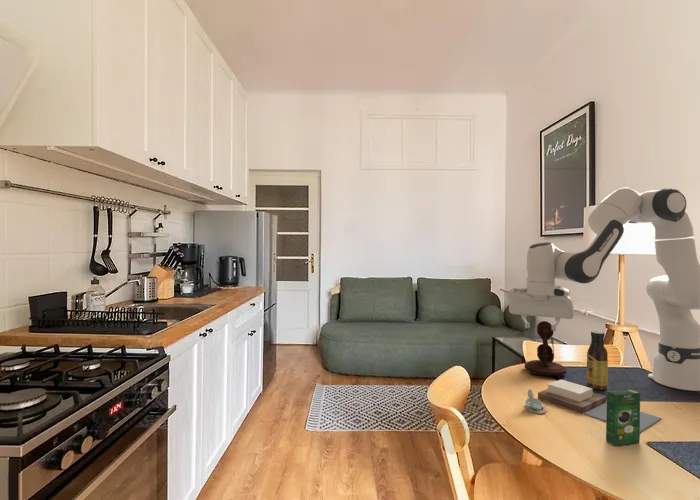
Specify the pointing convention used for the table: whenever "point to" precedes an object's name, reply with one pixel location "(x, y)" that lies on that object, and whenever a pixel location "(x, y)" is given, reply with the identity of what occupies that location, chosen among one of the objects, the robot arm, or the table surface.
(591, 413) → the mat
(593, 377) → the sauce bottle
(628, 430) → the coffee box
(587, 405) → the board
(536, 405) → the pacifier
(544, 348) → the stacked ball statuette
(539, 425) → the table surface
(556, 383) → the tile
